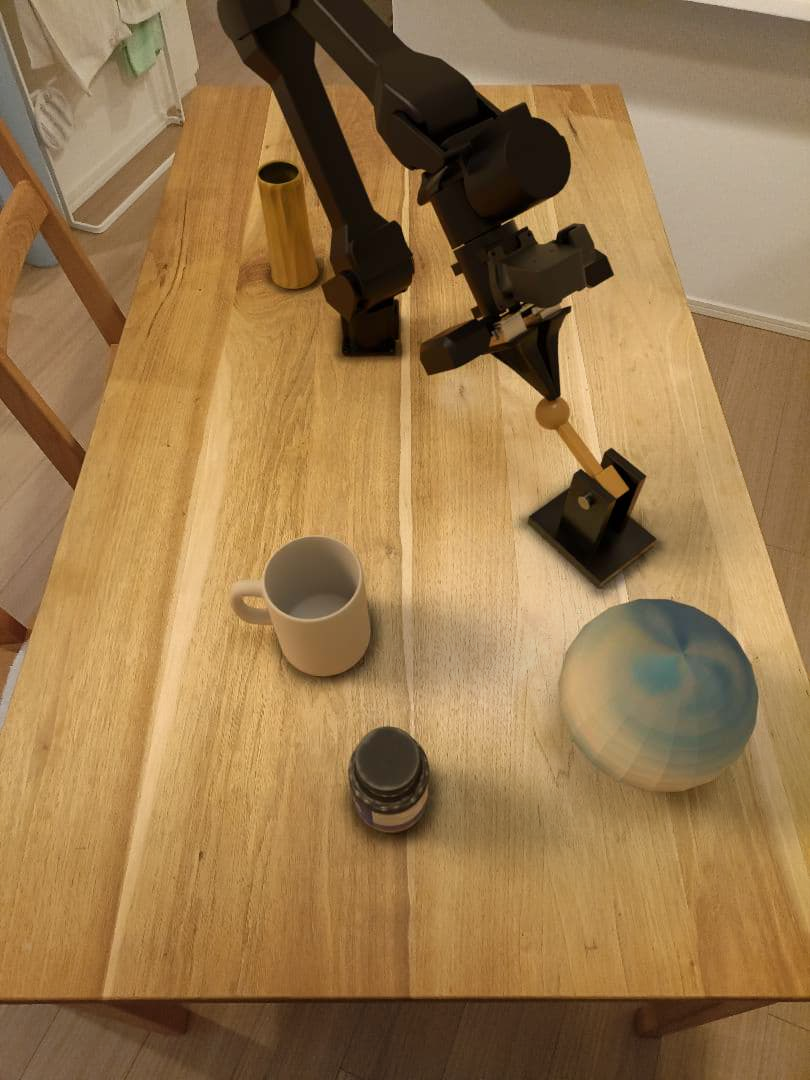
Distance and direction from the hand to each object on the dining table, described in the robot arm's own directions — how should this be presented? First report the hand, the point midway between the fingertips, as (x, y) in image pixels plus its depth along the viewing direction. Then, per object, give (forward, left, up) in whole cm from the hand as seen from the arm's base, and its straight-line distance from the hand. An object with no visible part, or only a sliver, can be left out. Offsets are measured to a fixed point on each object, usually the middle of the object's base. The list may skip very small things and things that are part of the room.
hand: (554, 398), depth 70 cm
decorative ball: (+6, -26, -13) cm, 30 cm away
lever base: (+5, -6, -13) cm, 15 cm away
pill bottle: (-15, -32, -13) cm, 38 cm away
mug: (-23, -17, -13) cm, 32 cm away
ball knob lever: (+2, -3, -5) cm, 6 cm away
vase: (-28, +35, -13) cm, 47 cm away
